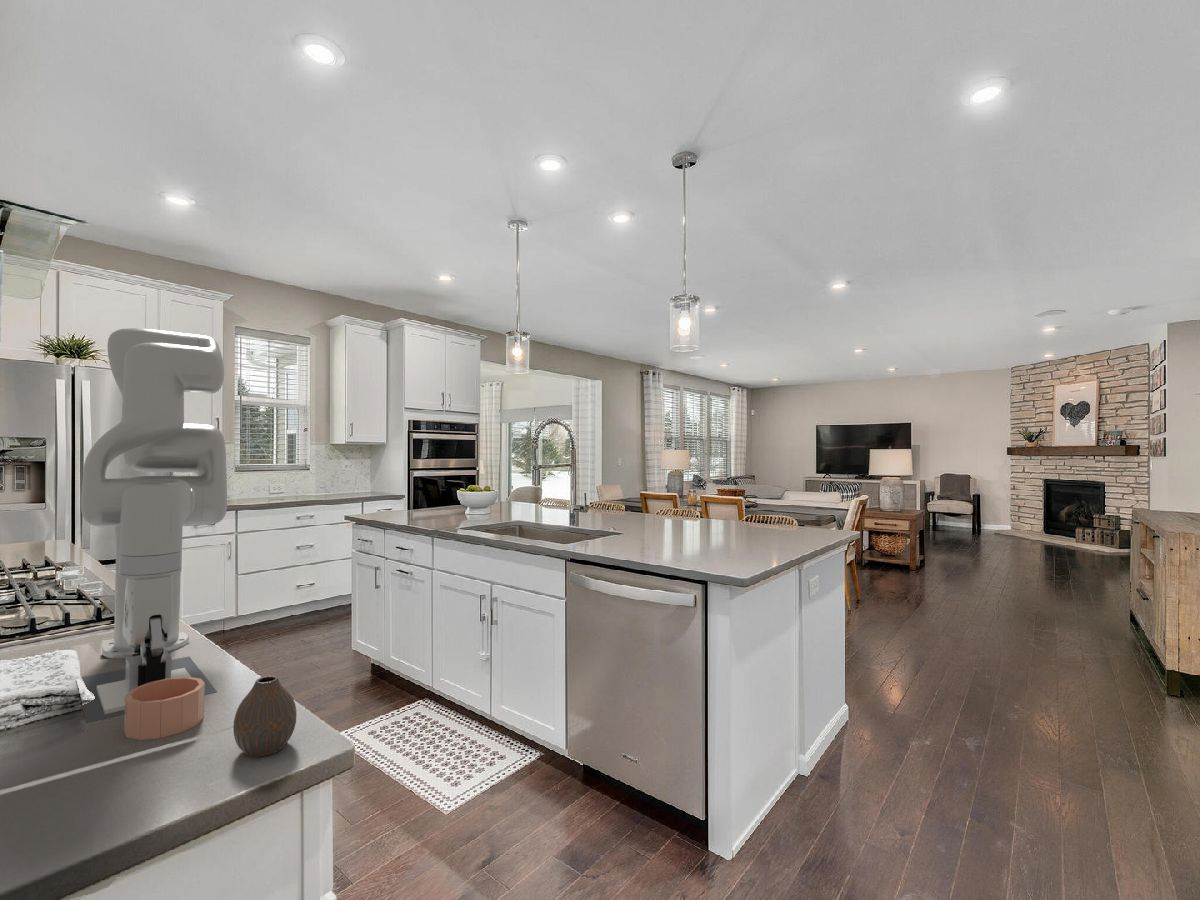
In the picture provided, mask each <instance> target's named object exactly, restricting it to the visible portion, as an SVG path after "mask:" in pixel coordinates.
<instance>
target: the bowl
mask: <svg viewBox="0 0 1200 900" xmlns="http://www.w3.org/2000/svg"><path fill="white" fill-rule="evenodd" d="M205 696H206V695H205V683H204V682H203V680H202V679H200V678H194V677H176V678H167V679H162V680H158V681H153V682H149V683H146V684H144V685H141V686H139V687H136V688H133V689H132V690H131V691H130V692H128V693H127V694H126V695H125V709H124V714H123V715H124V716H123V719H124V720H123V732H124V735H125V737H126V738H130V739H134V740H140V741H142V740H143V741H144V740H152V739H162V738H166V737H169V736H173V735H177V734H180V733H184V732H185V731H187V730H189V729H191V728H193V727H195V726H197V725H199V723H200V722H201V721H202V720H203V719H204V717H205Z"/></svg>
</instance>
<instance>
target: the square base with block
mask: <svg viewBox="0 0 1200 900" xmlns="http://www.w3.org/2000/svg"><path fill="white" fill-rule="evenodd" d="M172 660H173V659H172V656H171V654H170V652H168V651H167V650H165V661H166V672H165V679H167V678H176V677H191V676H190V675H189V673H188V672H187V671H186V669H185V668H181V669H176V670H171V662H172ZM138 665H141V655H138V656H132V657H127V658H125V669H126V675H125V680H122V681H117V682H112V683H108V684H103V685H98V686H97V693H98V696H99V699H100V702H101V705H102V708H103V711H104V714H108V713H113V712H117V711H121V710H124V709H125V695H126V694H127V693H128V692H130V691H131V690H132V689H133V688H136V687H138Z"/></svg>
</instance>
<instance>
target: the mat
mask: <svg viewBox="0 0 1200 900" xmlns="http://www.w3.org/2000/svg"><path fill="white" fill-rule="evenodd" d="M181 668H185V669H186V671H187V672H188V673H189V675H190V676H191V677H194V678H200V679H202V680H203V682H204V683H205V695H204V696H206V695H207V696H208V695H210V694H211V695H212V694H214V693H218V691H217V689H216V688H215V687H214V686H213V684H212V683H211V682H210V681H209V679H208V678H207V677H206V676H205V675H204V673H203V672H202V671H201V669H200V668H199V667H198V665H197V664H196V663H195V661H194V660H193V659H192V658H191V657H190V656H189V655H188V656H183V657H179V658H174V659H172V662H171V670H176V669H181ZM125 675H126V668H123V669H117V670H112V671H105V672H101V673H96V674H91V675H86V676H81V677H82V679H83V681H84V683H85V685H86V687H87V689H88V690H89V691H90V692H92V693H93V694H94V696H95V699H94V700H93V701H91V702H89V703H87V704H84V705H82V704H81V707H82V710H83V711H82V712H83V715H84V719H85V723H86V724H88V723H92V722H96V721H100V720H104V719H109V718H113V717H117V716H118V717H119V716H122V715H124V710H121V711H117V712H113V713H108V714H104V711H103V708H102V705H101V702H100V699H99V696H98V693H97V686H98V685H103V684H108V683H112V682H117V681H122V680H125Z"/></svg>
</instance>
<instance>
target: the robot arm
mask: <svg viewBox="0 0 1200 900" xmlns="http://www.w3.org/2000/svg"><path fill="white" fill-rule="evenodd" d="M106 348H107V356H108V357H107V358H108V362H109V366H110V370H111V373H112V376H113V378H114V381H115V383H116V385H117V387H118V389H119V392H120V394H121V396H122V404H121V405H122V406H121V407H122V408H121V419H120V422H119V423H117V424H116V425H115V426H113V427H112V428H111V429H109V430H108V431H106V432H105V433H104V434H103V435H101V437H99V438H98V439H97V441H96V442H95V443H94V444H93V446H91V449H90V450H89V452H88V454H87V455H86V458H85V461H84V464H83V470H82V484H81V495H80V511H81V514H82V517H83V519H84V520H85V521H86V523H88V524H90V525H91V526H93V527H99V528H100V527H101V528H108V527H109V528H111V527H113V528H114V534H115V535H114V537H115V584H114V585H115V587H114V590H115V591H114V626H113V629H114V631H113V640H112V641H110V642H108V643H107V644H105V645H103V647H102V649H101V654H102V656H103V657H105V658H108V659H126V658H127V657H132V656H138V655H141V665H138V687H139V686H141V685H144V684H146V683H149V682H153V681H158V680H162V679H165V672H166V661H165V650H167V651H168V653H170V652H172V651H175V650H178V649H180V648H182V647H184V646H186V645H188V643H189V642H190V638H189V637H190V635H189V634H187V632H183V631H180V612H181V611H180V607H181V606H180V605H181V577H182V576H181V573H182V563H183V562H182V560H183V527H196V526H197V527H198V526H210V525H215V524H218V523H220V522H222V521H223V520H224V519H225V516H226V514H227V510H228V483H227V482H228V481H227V478H228V477H227V476H228V475H227V452H226V451H227V450H226V441H225V438H224V435H223V432H222V431H221V430H220V428H217V427H216V426H214V425H211V424H205V423H204V424H203V423H202V424H201V423H188V422H187V423H185V393H194V394H195V393H197V394H216V393H218V392H219V391H220V390H221V388H222V386H223V383H224V377H225V366H224V365H225V364H224V359H223V354H222V352H221V349H220V346H219V343H218V342H217V340H216V339H215V338H213V337H211V336H208V335H202V334H201V335H200V334H196V333H195V334H193V333H185V332H184V333H183V332H176V331H167V330H162V329H153V328H142V327H141V328H139V327H138V328H137V327H135V328H134V327H127V328H121V329H117V330H114V331H113V332H111V333H110V334H109V337H108V340H107V347H106ZM122 454H123V459H124V462H125V464H126V465H127V467H129V468H130V469H132V470H134V471H138V472H148V473H193V474H196V475H142V476H140V475H139V476H133V477H129V478H127V477H126V478H121V477H120V478H106V475H107V469H108V467H109V465H110V464H111V462H113V461H114V460H115V459H116V458H117V457H119V456H120V455H122Z"/></svg>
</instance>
